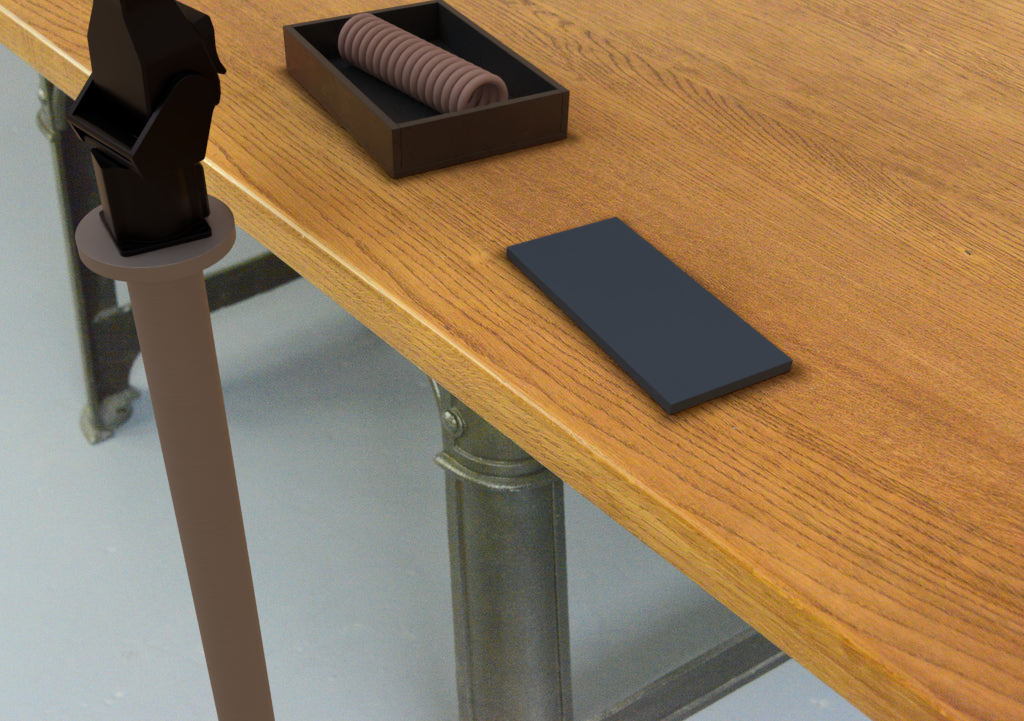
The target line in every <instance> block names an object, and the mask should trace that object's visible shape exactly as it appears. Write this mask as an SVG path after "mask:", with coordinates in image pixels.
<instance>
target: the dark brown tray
mask: <svg viewBox="0 0 1024 721" xmlns="http://www.w3.org/2000/svg"><path fill="white" fill-rule="evenodd" d="M362 13H369V14H372V15H374V16H376V17H378V18H380V19H382V20H384V21H387V22H388V23H390V24H392V25H395V26H396V27H398V28H401V29H403V30H404V31H406V32H409V33H411V34H412V35H415V36H417V37H419V38H420V39H423V40H425V41H427V42H429V43H431V44H433V45H435V46H437V47H440V48H441V49H443V50H445V51H448V52H449V53H451V54H453V55H456V56H457V57H459V58H462V59H464V60H466V61H467V62H470V63H472V64H474V65H475V66H478V67H480V68H482V69H483V70H486V71H488V72H490V73H492V74H494V75H497V76H498V77H500V78H501V79H502V80H503V81H504V83H505V85H506V87H507V91H508V100H506V101H502V102H497V103H492V104H488V105H483V106H479V107H474V108H469V109H465V110H460V111H455V112H451V113H446V114H441V113H440V112H439V111H436V110H434V109H432V108H431V107H429V106H426V105H425V104H424V103H421V102H419V101H417V100H416V99H414V98H412V97H410V96H409V95H407V94H404V93H403V92H401V91H399V90H397V89H395V88H394V87H392V86H390V85H388V84H387V83H384V82H382V81H381V80H379V79H377V78H375V77H373V76H372V75H369V74H367V73H366V72H365V71H362V70H360V69H359V68H357V67H355V66H353V65H352V64H349V63H347V62H346V61H345V60H344V59H343V58H342V57H341V55H340V53H339V49H338V39H339V35H340V32H341V30H342V28H343V26H344V25H345V23H346V22H347V21H348V20H349V19H351V18H352V17H354V16H356V15H358V14H362ZM282 34H283V45H284V55H285V66H286V71H287V72H288V73H289V74H290V75H291V76H292V77H293V78H294V79H295V81H297V83H298V84H300V86H301V87H303V89H304V90H305V91H306V92H307V93H309V95H310V96H311V97H312V98H314V100H315V101H316V102H317V103H318V104H319V105H320V106H321V107H322V108H323V109H324V110H325V111H326V112H327V113H328V114H329V115H330V116H331V117H332V118H333V120H335V121H336V122H337V123H338V124H339V125H340V126H341V127H342V128H343V129H344V130H345V131H346V132H347V133H348V134H349V135H350V136H351V137H352V138H353V139H354V140H355V142H356V143H358V144H359V145H360V146H361V148H363V149H364V150H365V151H366V152H367V153H368V154H369V155H370V157H371V158H373V160H374V161H375V162H377V163H378V165H379V166H380V167H382V168H383V170H384V171H385V172H386V173H387V174H388V175H389V176H390V177H391V178H392V179H393V180H396V179H400V178H404V177H408V176H412V175H417V174H422V173H425V172H430V171H434V170H438V169H442V168H446V167H447V168H448V167H450V166H454V165H459V164H463V163H467V162H471V161H476V160H480V159H484V158H485V159H486V158H488V157H492V156H497V155H502V154H505V153H510V152H514V151H518V150H522V149H525V148H531V147H535V146H538V145H543V144H547V143H552V142H556V141H559V140H560V141H561V140H564V139H567V138H568V128H569V126H568V125H569V109H570V95H571V91H570V90H569V89H568V88H567V87H566V86H564V85H562V84H561V83H559V82H558V81H557V80H555V79H554V78H553V77H551V76H549V75H548V74H547V73H546V72H544V71H543V70H541V69H540V68H539V67H537V66H536V65H535V64H533V63H532V62H530V61H529V60H527V59H526V58H524V57H523V56H522V55H520V54H519V53H518V52H516V51H515V50H513V49H512V48H511V47H509V46H508V45H507V44H506V43H504V42H502V41H501V40H500V39H498V38H497V37H495V36H494V35H493V34H491V33H490V32H488V31H487V30H485V29H484V28H483V27H481V26H480V25H478V24H477V23H476V22H474V21H473V20H472V19H470V18H469V17H468V16H466V15H464V14H463V13H462V12H461V11H459V10H458V9H456V8H454V7H453V6H452V5H451V4H450V3H448V2H447V1H445V0H426V1H420V2H415V3H408V4H403V5H397V6H390V7H384V8H378V9H373V10H367V11H362V12H355V13H349V14H343V15H337V16H333V17H327V18H322V19H321V18H320V19H316V20H315V19H314V20H309V21H304V22H303V21H302V22H296V23H292V24H291V23H290V24H286V25H285V24H284V25H282Z"/></svg>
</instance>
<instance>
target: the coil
mask: <svg viewBox="0 0 1024 721" xmlns="http://www.w3.org/2000/svg"><path fill="white" fill-rule="evenodd" d="M338 49H339V53H340V55H341V57H342V58H343V59H344V60H345V61H346V62H347V63H349V64H352V65H353V66H355V67H357V68H359V69H360V70H362V71H365V72H366V73H367V74H369V75H372V76H373V77H375V78H377V79H379V80H381V81H382V82H384V83H387V84H388V85H390V86H392V87H394V88H395V89H397V90H399V91H401V92H403V93H404V94H407V95H409V96H410V97H412V98H414V99H416V100H417V101H419V102H421V103H424V104H425V105H426V106H429V107H431V108H432V109H434V110H436V111H439V112H440V113H441V114H446V113H451V112H455V111H460V110H465V109H469V108H474V107H479V106H483V105H488V104H492V103H497V102H502V101H506V100H508V91H507V87H506V85H505V83H504V81H503V80H502V79H501V78H500V77H498V76H497V75H494V74H492V73H490V72H488V71H486V70H483V69H482V68H480V67H478V66H475V65H474V64H472V63H470V62H467V61H466V60H464V59H462V58H459V57H457V56H456V55H453V54H451V53H449V52H448V51H445V50H443V49H441V48H440V47H437V46H435V45H433V44H431V43H429V42H427V41H425V40H423V39H420V38H419V37H417V36H415V35H412V34H411V33H409V32H406V31H404V30H403V29H401V28H398V27H396V26H395V25H392V24H390V23H388V22H387V21H384V20H382V19H380V18H378V17H376V16H374V15H372V14H369V13H362V14H358V15H356V16H354V17H352V18H351V19H349V20H348V21H347V22H346V23H345V25H344V26H343V28H342V30H341V32H340V35H339V39H338Z"/></svg>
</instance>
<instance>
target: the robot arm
mask: <svg viewBox="0 0 1024 721" xmlns="http://www.w3.org/2000/svg"><path fill="white" fill-rule="evenodd" d="M88 22H89V23H88V28H87V33H86V40H87V45H88V54H89V60H90V67H91V68H90V69H91V73H90V74H89V76H88V78H87V80H86V81H85V83H84V84H83V87H82V88H81V90H80V91H79V93H78V95H77V96H76V98H75V100H74V101H73V103H72V105H71V106H70V108H69V110H68V112H67V113H66V115H65V119H66V121H67V123H68V125H69V126H70V128H71V129H72V131H73V132H74V133H75V135H76V136H77V138H78V139H79V140H81V142H84V143H88V144H89V145H91V146H92V148H90V149H89V151H90V152H89V153H90V156H91V160H92V165H93V170H94V174H95V179H96V183H97V189H98V193H99V197H100V202H101V204H102V208H103V210H101V211H100V212H99V216H100V220H101V221H102V223H103V225H104V227H105V229H106V230H107V232H108V234H109V236H110V238H111V240H112V241H113V243H114V245H115V247H116V249H117V250H118V252H119V254H120V256H122V257H131V256H135V255H139V254H143V253H147V252H151V251H156V250H160V249H164V248H168V247H172V246H176V245H180V244H184V243H188V242H193V241H197V240H201V239H205V238H208V237H211V236H212V229H211V227H210V225H209V224H208V223H207V221H206V220H205V218H207V217H209V215H210V207H209V201H208V189H207V181H206V175H205V167H204V165H203V164H202V163H201V162H203V161H204V160H205V159H206V155H207V150H208V144H209V139H210V131H211V126H212V120H213V116H214V115H213V114H214V110H215V108H216V106H219V105H220V103H221V97H222V86H221V79H220V76H219V74H220V75H226V74H227V69H226V67H225V66H224V64H223V63H222V61H221V59H220V57H219V54H218V52H217V44H216V32H215V26H214V25H213V21H212V18H211V16H210V15H209V14H207V13H205V12H202V11H201V10H198V9H196V8H194V7H192V6H191V5H188V4H186V3H183V2H181V1H179V0H92V6H91V12H90V17H89V21H88Z"/></svg>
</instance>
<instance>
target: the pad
mask: <svg viewBox="0 0 1024 721" xmlns="http://www.w3.org/2000/svg"><path fill="white" fill-rule="evenodd" d="M505 254H506V255H505V256H506V258H508V259H509V260H510V262H511V263H512V264H514V265H515V267H517V269H519V270H520V272H522V273H523V274H524V275H525V277H527V278H528V279H529V280H530V281H531V282H532V283H533V284H534V285H535V286H536V287H537V288H539V290H541V292H542V293H544V294H545V296H546V297H548V298H549V299H550V300H551V301H552V303H554V304H555V305H556V306H557V307H558V308H559V309H560V310H561V311H562V312H563V313H564V314H565V315H566V316H567V317H568V318H569V319H570V320H571V321H572V322H573V323H574V324H575V325H576V326H578V328H580V330H582V332H584V334H585V335H587V336H588V337H589V338H590V339H591V340H592V341H593V342H594V343H595V344H596V345H597V346H598V347H599V348H600V349H601V350H602V351H603V352H604V353H605V354H606V355H607V356H609V357H610V359H612V360H613V362H615V364H617V365H618V366H619V367H620V368H621V369H622V370H623V371H624V372H625V374H626V375H628V376H629V377H630V378H631V379H632V380H633V381H634V382H635V383H636V384H637V385H638V386H639V387H640V388H641V389H642V390H644V392H645V393H647V394H648V395H649V396H650V397H651V398H652V399H653V400H654V402H656V403H657V404H658V405H659V406H660V407H661V408H662V409H663V410H664V411H665V412H666V413H667V414H668V415H670V416H672V415H674V414H676V413H679V412H682V411H685V410H687V409H690V408H693V407H695V406H698V405H701V404H703V403H707V402H709V401H712V400H714V399H717V398H720V397H722V396H725V395H728V394H730V393H733V392H735V391H739V390H741V389H744V388H746V387H749V386H752V385H755V384H758V383H760V382H763V381H766V380H768V379H771V378H774V377H777V376H779V375H781V374H784V373H787V372H790V371H791V370H792V366H793V362H794V360H793V359H792V358H791V357H790V356H788V355H787V354H786V352H784V351H783V350H781V349H780V348H779V347H778V346H776V345H775V344H774V343H772V341H770V340H769V339H767V338H766V337H765V336H764V335H763V334H762V333H761V332H759V330H757V329H755V328H754V327H753V326H752V325H750V323H748V322H747V321H746V320H745V319H743V318H742V317H741V316H740V315H738V313H736V312H734V311H733V310H732V309H731V308H730V307H729V306H727V305H726V304H725V303H723V302H722V301H721V300H720V299H719V298H717V297H716V296H715V295H714V294H713V293H711V292H710V291H709V290H707V289H706V288H705V287H704V286H703V285H701V284H700V283H699V282H698V281H697V280H695V279H694V278H693V277H692V276H690V275H689V274H688V273H687V272H685V271H684V270H683V269H682V268H680V266H678V265H677V264H675V263H674V262H673V261H672V260H671V259H670V258H668V257H667V256H666V255H665V254H663V253H662V252H661V251H660V250H658V249H657V248H656V247H655V246H653V245H652V244H651V243H650V242H648V240H646V239H645V238H644V237H642V236H641V235H640V234H639V233H637V232H636V231H635V230H634V229H632V228H631V227H630V226H629V225H628V224H626V223H625V222H624V221H623V220H621V219H620V218H619V217H618V216H613V217H610V218H606V219H603V220H598V221H595V222H592V223H588V224H584V225H580V226H577V227H574V228H573V227H572V228H569V229H565V230H563V231H558V232H555V233H551V234H548V235H544V236H541V237H537V238H534V239H530V240H526V241H523V242H519V243H516V244H512V245H508V246H506V253H505Z"/></svg>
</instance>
